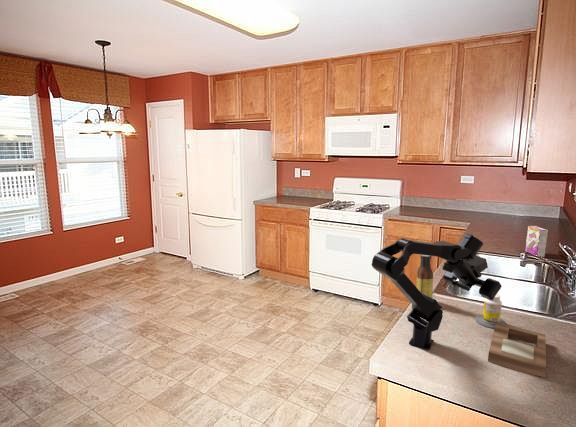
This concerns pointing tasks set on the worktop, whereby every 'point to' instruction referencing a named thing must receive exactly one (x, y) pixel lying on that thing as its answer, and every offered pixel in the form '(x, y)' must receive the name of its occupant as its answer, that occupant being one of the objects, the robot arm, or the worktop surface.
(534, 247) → the candy bar box
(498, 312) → the supplement bottle
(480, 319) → the rubber mat
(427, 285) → the sauce bottle
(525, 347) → the puzzle board
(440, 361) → the worktop surface
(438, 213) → the worktop surface
